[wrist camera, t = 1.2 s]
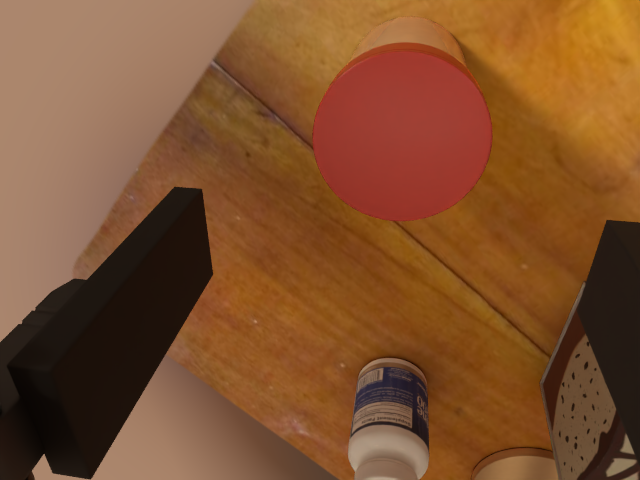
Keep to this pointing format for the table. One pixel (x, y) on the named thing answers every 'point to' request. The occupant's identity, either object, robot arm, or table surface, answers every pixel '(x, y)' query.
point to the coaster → (517, 465)
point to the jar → (410, 36)
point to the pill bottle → (390, 422)
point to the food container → (583, 412)
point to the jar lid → (402, 132)
